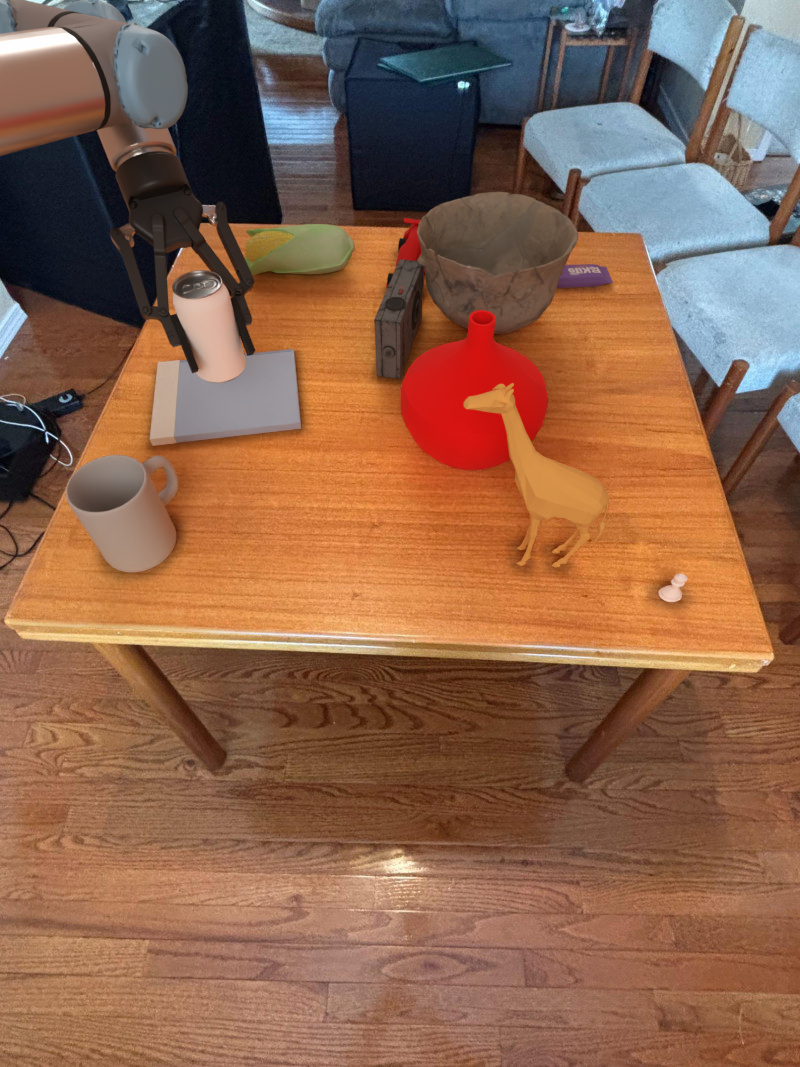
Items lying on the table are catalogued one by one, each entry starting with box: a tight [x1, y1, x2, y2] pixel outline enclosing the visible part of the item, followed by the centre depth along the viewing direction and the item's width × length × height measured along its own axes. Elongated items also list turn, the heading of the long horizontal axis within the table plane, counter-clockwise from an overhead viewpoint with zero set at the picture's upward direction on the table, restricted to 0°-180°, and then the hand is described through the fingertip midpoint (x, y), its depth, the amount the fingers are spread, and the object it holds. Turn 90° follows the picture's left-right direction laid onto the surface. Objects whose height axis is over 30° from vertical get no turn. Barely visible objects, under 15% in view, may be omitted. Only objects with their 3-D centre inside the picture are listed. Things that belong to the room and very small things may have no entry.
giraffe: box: [463, 383, 610, 568], centre depth 64 cm, size 16×4×25 cm, turn 83°
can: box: [171, 269, 246, 383], centre depth 77 cm, size 6×6×12 cm
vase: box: [399, 310, 549, 471], centre depth 78 cm, size 18×18×19 cm
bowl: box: [417, 191, 579, 335], centre depth 95 cm, size 22×22×15 cm
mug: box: [65, 454, 180, 573], centre depth 72 cm, size 12×8×11 cm
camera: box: [373, 259, 424, 380], centre depth 93 cm, size 16×4×10 cm, turn 167°
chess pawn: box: [658, 573, 689, 603], centre depth 69 cm, size 3×2×4 cm
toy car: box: [385, 217, 425, 289], centre depth 107 cm, size 6×18×5 cm, turn 170°
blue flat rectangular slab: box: [149, 348, 302, 447], centre depth 90 cm, size 20×16×1 cm
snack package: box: [556, 263, 614, 289], centre depth 107 cm, size 12×2×5 cm
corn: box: [244, 223, 356, 276], centre depth 107 cm, size 8×8×20 cm
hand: (223, 361), depth 77 cm, fingers closed on can, 6 cm apart
